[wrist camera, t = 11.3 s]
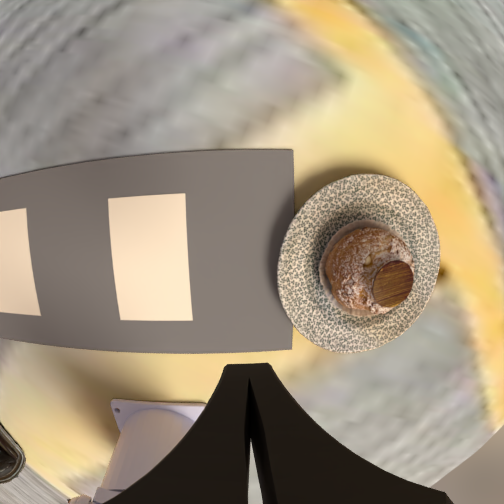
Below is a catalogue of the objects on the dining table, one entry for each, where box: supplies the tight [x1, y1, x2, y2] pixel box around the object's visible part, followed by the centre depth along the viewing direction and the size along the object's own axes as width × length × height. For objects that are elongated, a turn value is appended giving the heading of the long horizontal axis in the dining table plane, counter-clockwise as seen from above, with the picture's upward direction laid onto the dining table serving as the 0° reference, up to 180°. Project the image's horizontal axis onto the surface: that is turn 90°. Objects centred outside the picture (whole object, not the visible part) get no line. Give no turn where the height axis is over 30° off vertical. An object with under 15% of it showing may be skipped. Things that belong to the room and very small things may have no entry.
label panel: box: [0, 150, 294, 354], centre depth 18 cm, size 13×26×1 cm, turn 91°
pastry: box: [277, 174, 440, 353], centre depth 17 cm, size 12×12×5 cm
